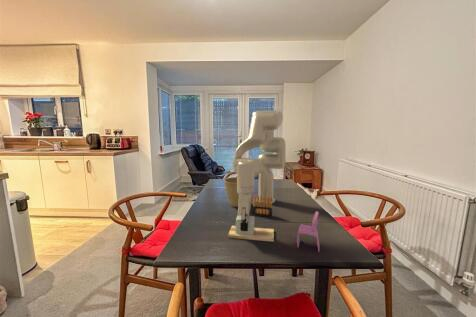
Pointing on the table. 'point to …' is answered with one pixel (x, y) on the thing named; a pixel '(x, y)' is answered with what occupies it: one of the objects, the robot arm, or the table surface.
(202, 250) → the table surface
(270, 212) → the ammunition clip
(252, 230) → the pale green notched block
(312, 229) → the toy chair
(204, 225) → the table surface
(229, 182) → the plant pot
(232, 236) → the board
